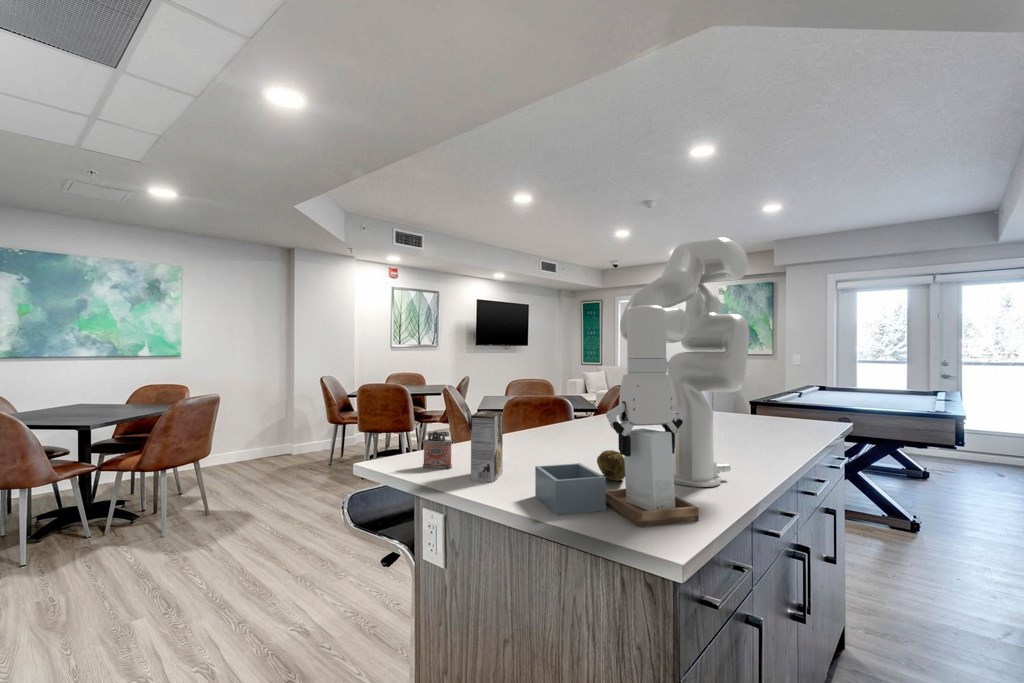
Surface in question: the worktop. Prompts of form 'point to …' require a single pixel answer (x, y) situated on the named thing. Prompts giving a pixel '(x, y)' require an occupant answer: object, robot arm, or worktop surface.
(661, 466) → the skincare box
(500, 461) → the coffee box
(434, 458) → the lighter
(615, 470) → the potato
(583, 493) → the grey open box frame
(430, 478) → the worktop surface
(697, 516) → the tray
